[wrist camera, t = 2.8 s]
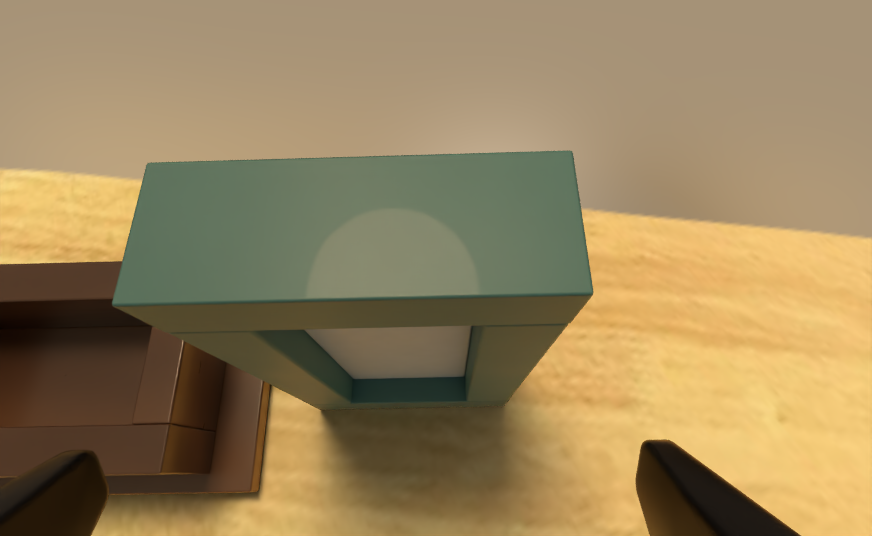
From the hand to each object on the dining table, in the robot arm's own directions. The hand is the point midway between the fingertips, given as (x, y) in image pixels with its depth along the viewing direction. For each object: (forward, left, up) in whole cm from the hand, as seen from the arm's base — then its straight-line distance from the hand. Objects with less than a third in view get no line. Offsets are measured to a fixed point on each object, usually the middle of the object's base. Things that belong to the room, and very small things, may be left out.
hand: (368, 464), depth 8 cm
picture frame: (+3, +2, -10) cm, 11 cm away
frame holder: (-5, +12, -10) cm, 17 cm away
